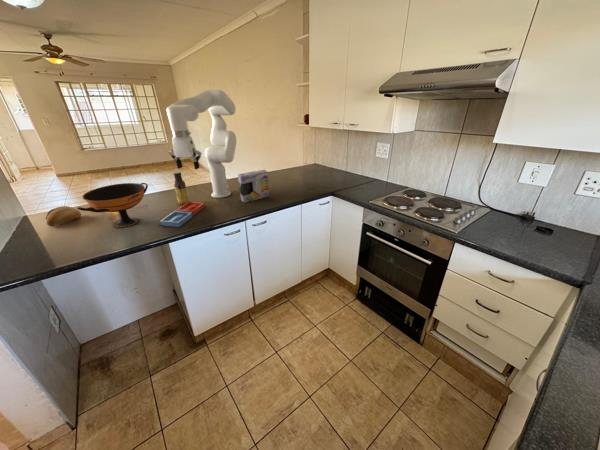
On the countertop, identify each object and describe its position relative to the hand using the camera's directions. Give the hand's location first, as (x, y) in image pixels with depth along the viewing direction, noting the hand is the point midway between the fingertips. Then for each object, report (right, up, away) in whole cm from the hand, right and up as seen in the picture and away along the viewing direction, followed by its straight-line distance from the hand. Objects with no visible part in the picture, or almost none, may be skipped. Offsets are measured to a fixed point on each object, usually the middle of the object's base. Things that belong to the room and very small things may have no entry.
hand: (188, 168), depth 129 cm
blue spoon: (-7, -27, +2) cm, 28 cm away
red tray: (-5, -21, +15) cm, 26 cm away
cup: (-33, -29, 0) cm, 44 cm away
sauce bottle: (-13, -17, +24) cm, 32 cm away
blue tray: (-7, -28, +2) cm, 29 cm away
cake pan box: (+29, -13, +30) cm, 44 cm away
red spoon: (-5, -21, +14) cm, 26 cm away
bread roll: (-66, -28, +2) cm, 72 cm away
